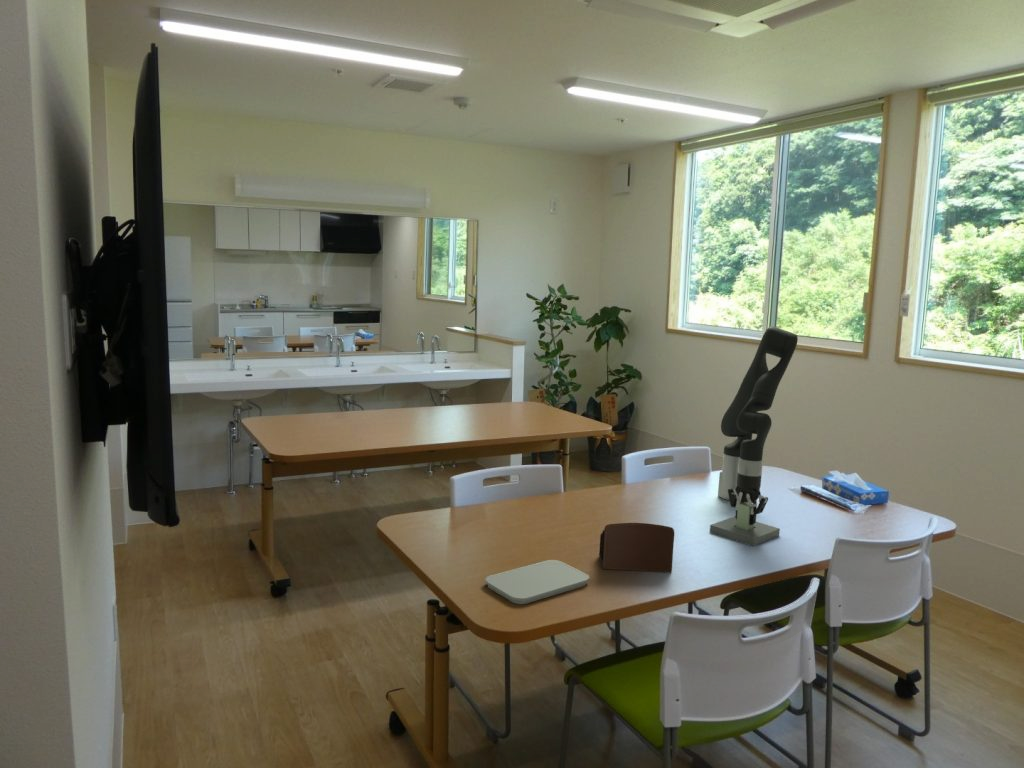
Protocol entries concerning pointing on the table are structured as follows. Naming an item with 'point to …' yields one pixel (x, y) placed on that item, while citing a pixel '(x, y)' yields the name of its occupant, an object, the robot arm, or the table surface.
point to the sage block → (743, 517)
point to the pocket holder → (744, 531)
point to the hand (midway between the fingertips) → (745, 522)
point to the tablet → (536, 581)
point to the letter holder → (637, 547)
